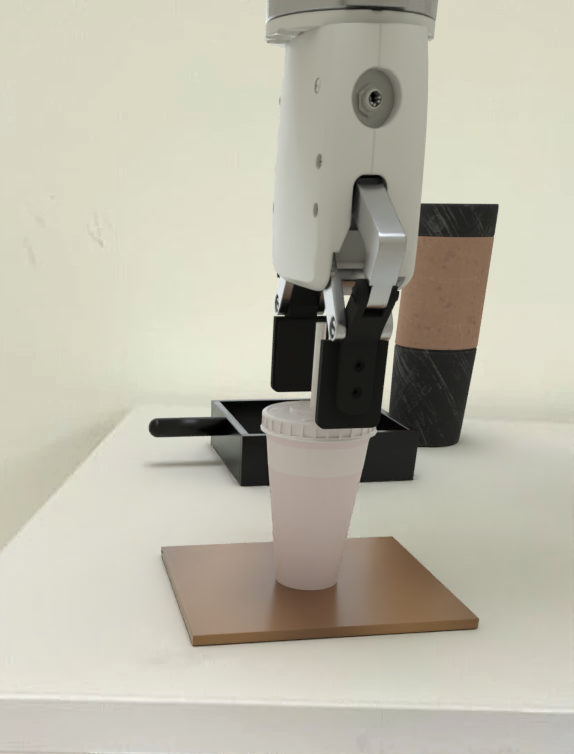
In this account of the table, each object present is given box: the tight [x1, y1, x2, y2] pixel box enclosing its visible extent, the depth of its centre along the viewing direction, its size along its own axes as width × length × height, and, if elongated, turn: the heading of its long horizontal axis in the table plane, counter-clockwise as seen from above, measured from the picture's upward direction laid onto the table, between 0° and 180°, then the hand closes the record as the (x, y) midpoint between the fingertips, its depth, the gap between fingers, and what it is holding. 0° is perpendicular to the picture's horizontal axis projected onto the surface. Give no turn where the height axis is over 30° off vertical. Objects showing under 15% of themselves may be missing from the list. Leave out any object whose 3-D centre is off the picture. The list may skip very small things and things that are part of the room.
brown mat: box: [160, 535, 480, 647], centre depth 53 cm, size 16×14×1 cm
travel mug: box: [388, 202, 500, 448], centre depth 81 cm, size 8×8×20 cm
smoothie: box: [261, 322, 377, 590], centre depth 49 cm, size 6×6×14 cm
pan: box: [147, 397, 420, 487], centre depth 77 cm, size 22×15×4 cm
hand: (319, 407), depth 47 cm, fingers open, 9 cm apart
